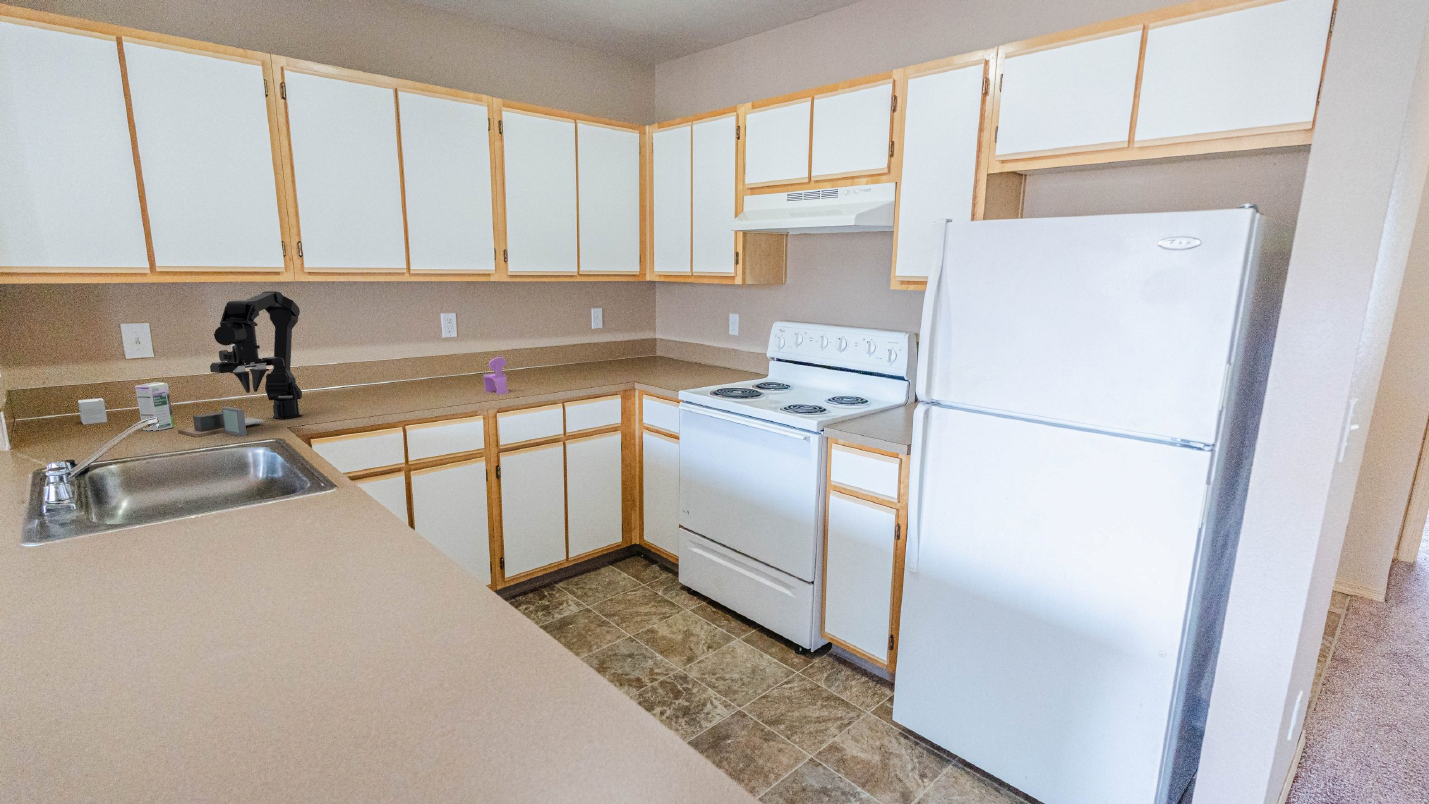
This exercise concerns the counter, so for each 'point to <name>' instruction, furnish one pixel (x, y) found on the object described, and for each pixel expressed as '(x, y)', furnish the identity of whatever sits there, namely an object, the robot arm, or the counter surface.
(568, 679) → the counter surface
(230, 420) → the tile
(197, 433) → the plate
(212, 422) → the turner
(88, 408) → the skincare box
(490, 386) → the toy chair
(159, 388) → the syrup box
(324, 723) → the counter surface
